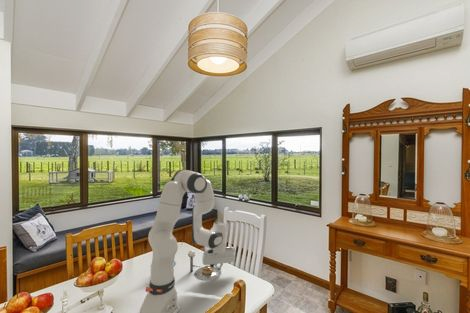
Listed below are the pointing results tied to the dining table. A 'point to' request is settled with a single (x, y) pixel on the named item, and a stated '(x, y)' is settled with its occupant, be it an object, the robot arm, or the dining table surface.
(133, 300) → the dining table surface
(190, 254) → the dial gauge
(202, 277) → the turntable
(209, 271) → the cover
